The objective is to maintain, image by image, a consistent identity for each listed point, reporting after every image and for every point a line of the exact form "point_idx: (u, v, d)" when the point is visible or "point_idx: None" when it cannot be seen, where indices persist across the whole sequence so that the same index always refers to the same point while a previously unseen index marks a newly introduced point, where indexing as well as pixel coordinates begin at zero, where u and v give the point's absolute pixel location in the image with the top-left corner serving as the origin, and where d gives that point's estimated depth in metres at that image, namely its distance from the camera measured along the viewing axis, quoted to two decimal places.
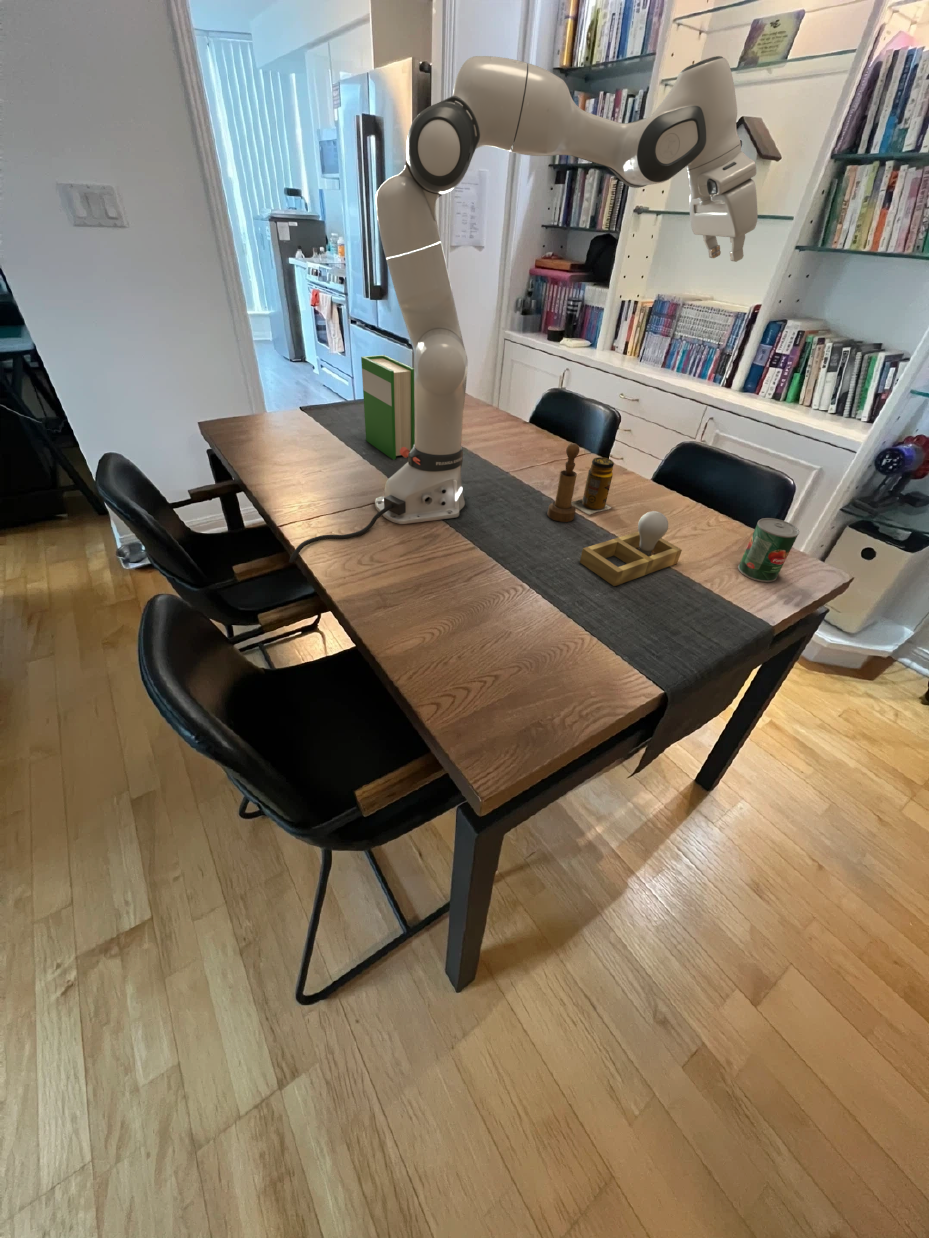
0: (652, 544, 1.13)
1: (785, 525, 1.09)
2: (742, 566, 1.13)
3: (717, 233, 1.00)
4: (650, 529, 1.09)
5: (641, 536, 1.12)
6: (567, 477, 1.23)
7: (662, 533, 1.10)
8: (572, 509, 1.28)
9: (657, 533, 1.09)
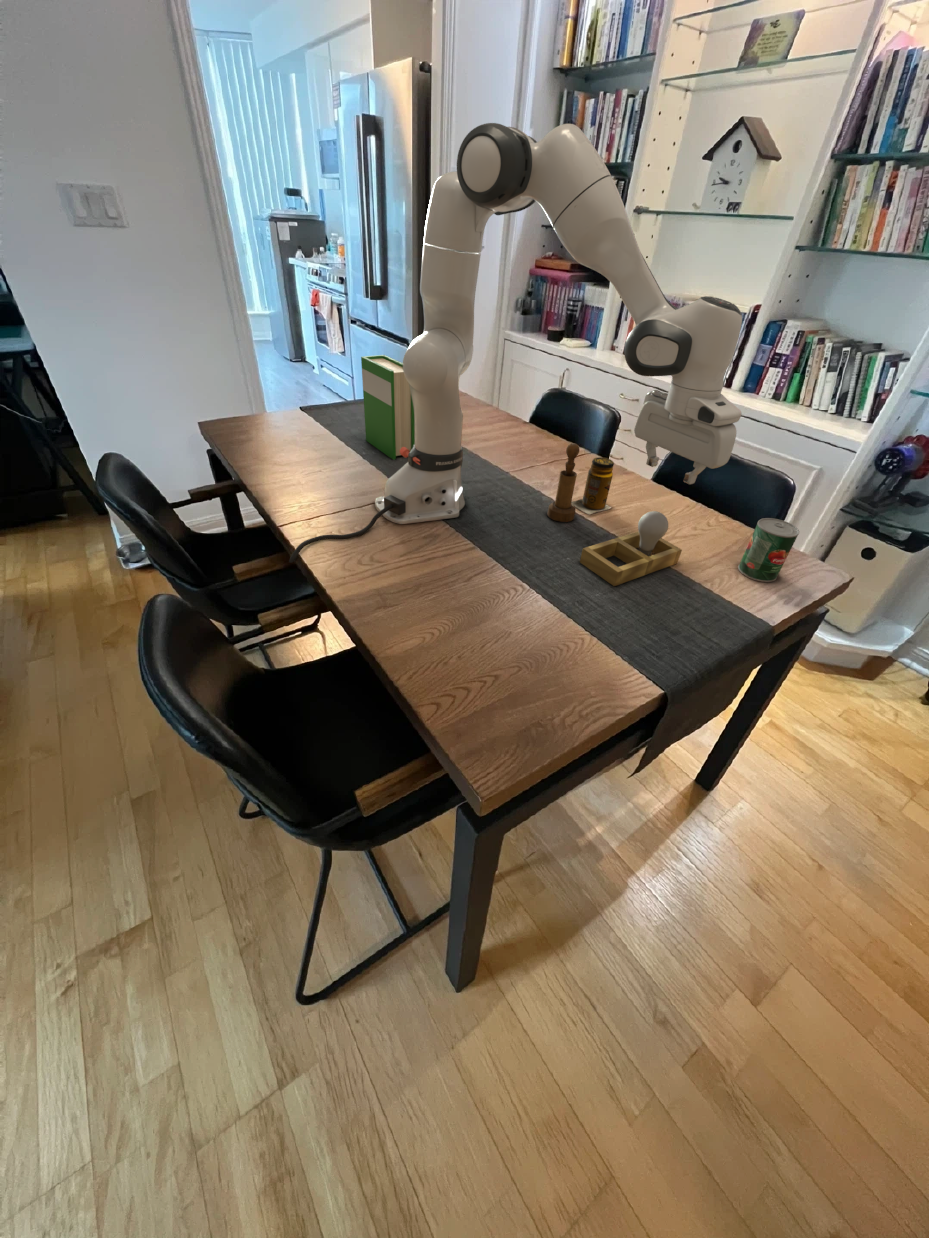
0: (652, 544, 1.13)
1: (785, 525, 1.09)
2: (742, 566, 1.13)
3: (680, 452, 0.99)
4: (650, 529, 1.09)
5: (641, 536, 1.12)
6: (567, 477, 1.23)
7: (662, 533, 1.10)
8: (572, 509, 1.28)
9: (657, 533, 1.09)
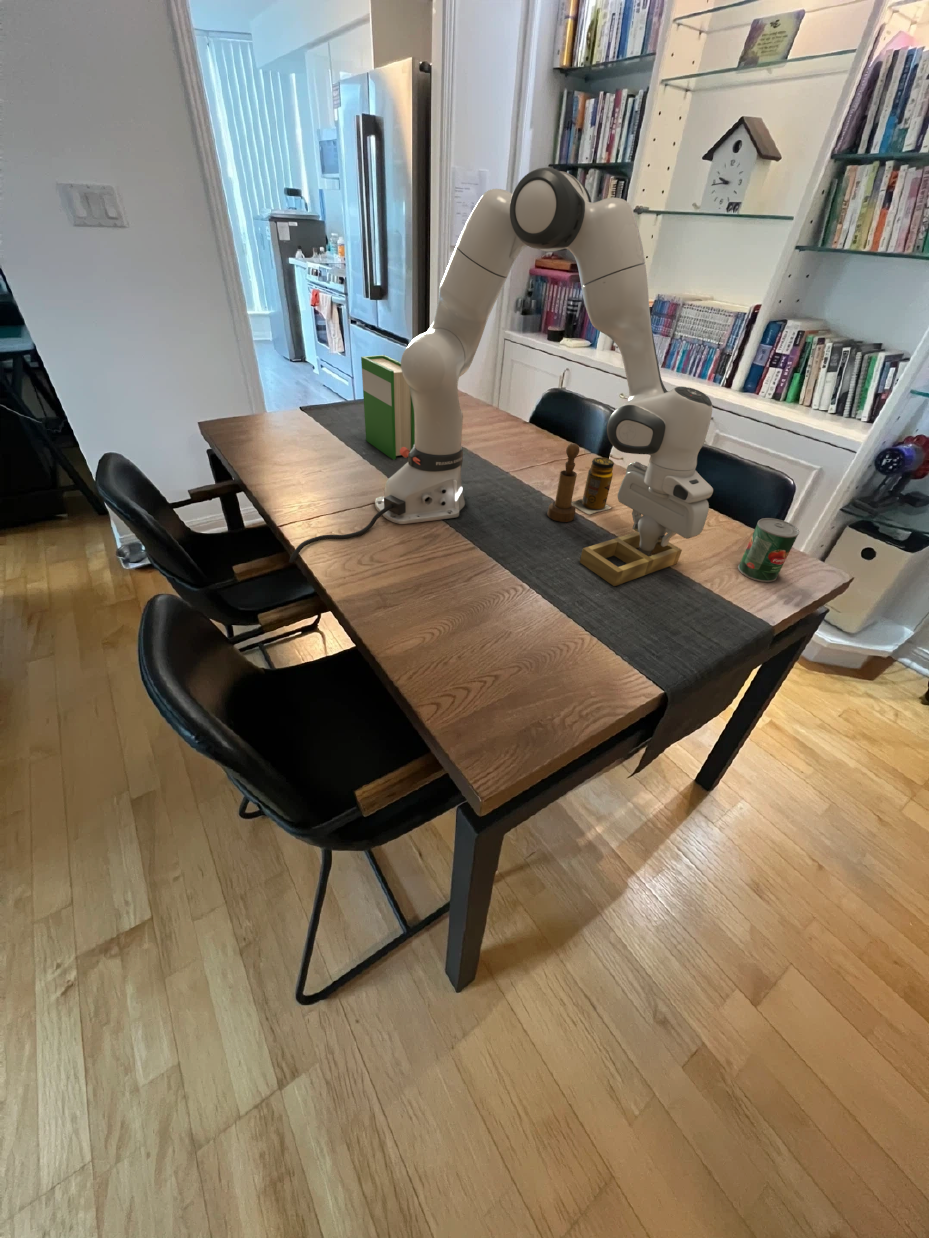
0: (652, 544, 1.13)
1: (785, 525, 1.09)
2: (742, 566, 1.13)
3: (659, 521, 1.08)
4: (650, 529, 1.09)
5: (641, 536, 1.12)
6: (567, 477, 1.23)
7: (662, 533, 1.10)
8: (572, 509, 1.28)
9: (657, 533, 1.09)
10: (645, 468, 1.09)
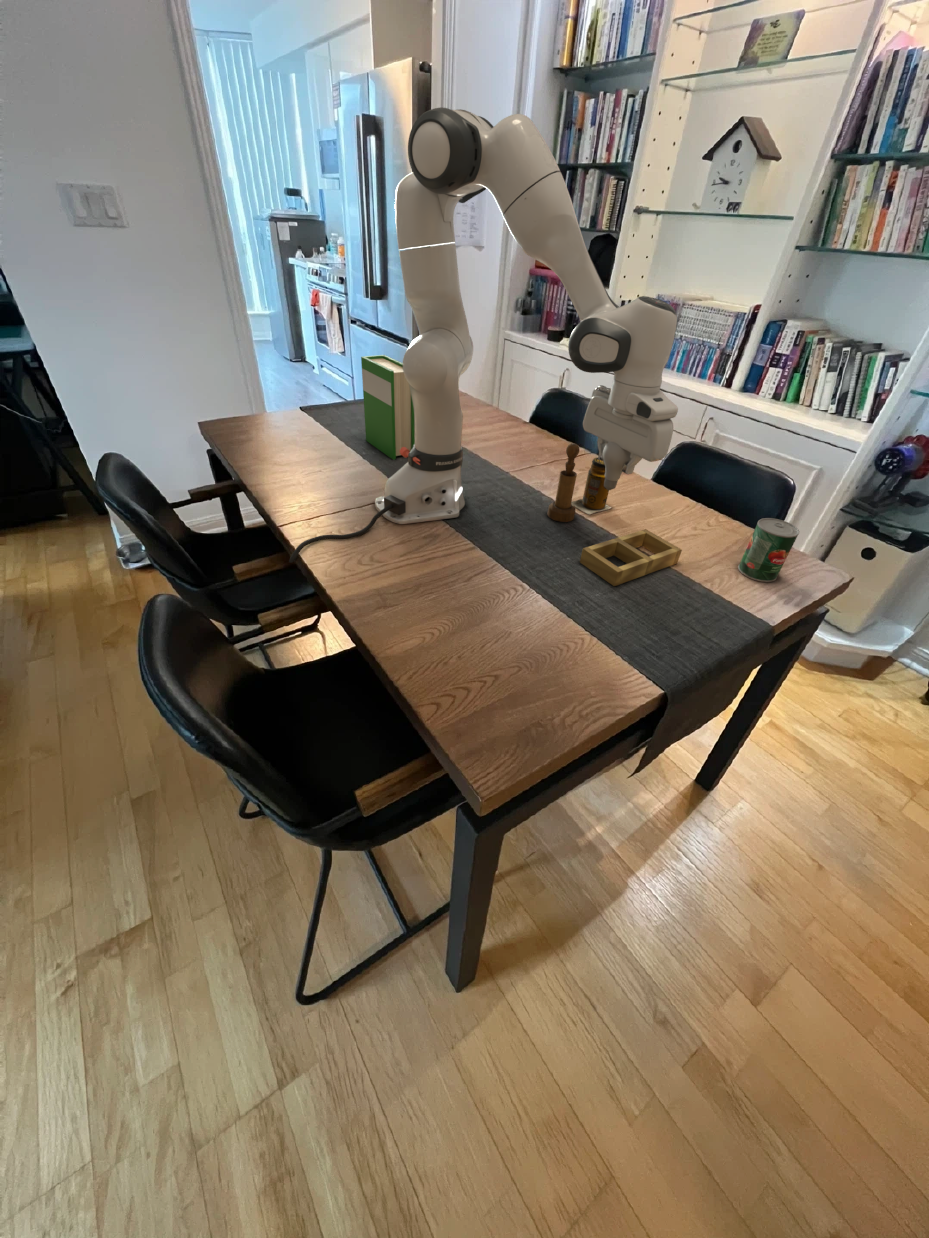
0: (617, 473, 1.08)
1: (785, 525, 1.09)
2: (742, 566, 1.13)
3: (623, 445, 1.04)
4: (614, 455, 1.05)
5: (606, 464, 1.08)
6: (567, 477, 1.23)
7: (627, 460, 1.06)
8: (572, 509, 1.28)
9: (621, 460, 1.05)
10: (610, 391, 1.04)
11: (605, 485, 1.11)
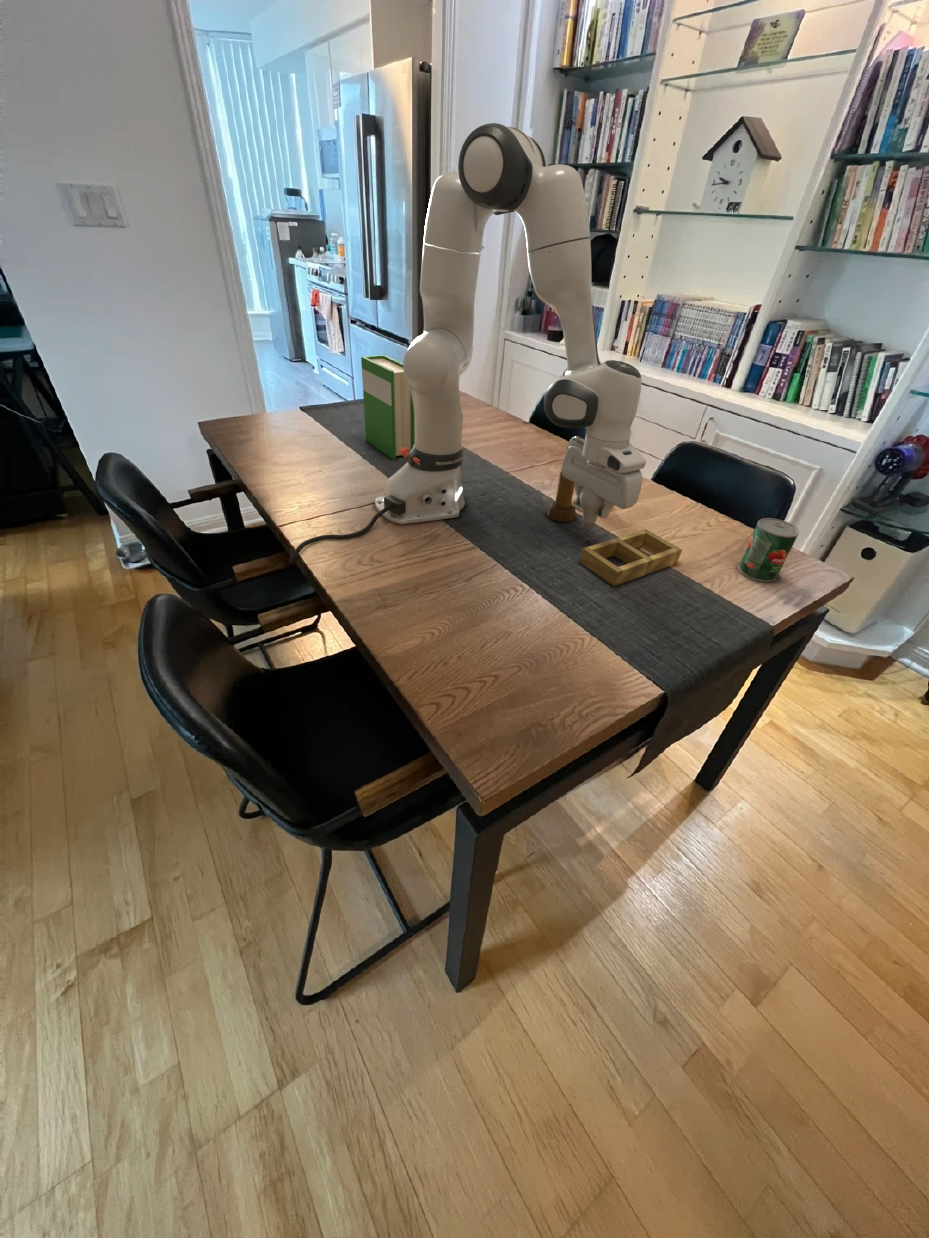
0: (593, 517, 1.16)
1: (785, 525, 1.09)
2: (742, 566, 1.13)
3: (597, 492, 1.11)
4: (589, 501, 1.13)
5: (583, 508, 1.16)
6: None
7: (602, 505, 1.13)
8: (572, 509, 1.28)
9: (596, 505, 1.13)
10: (584, 442, 1.12)
11: (583, 527, 1.19)
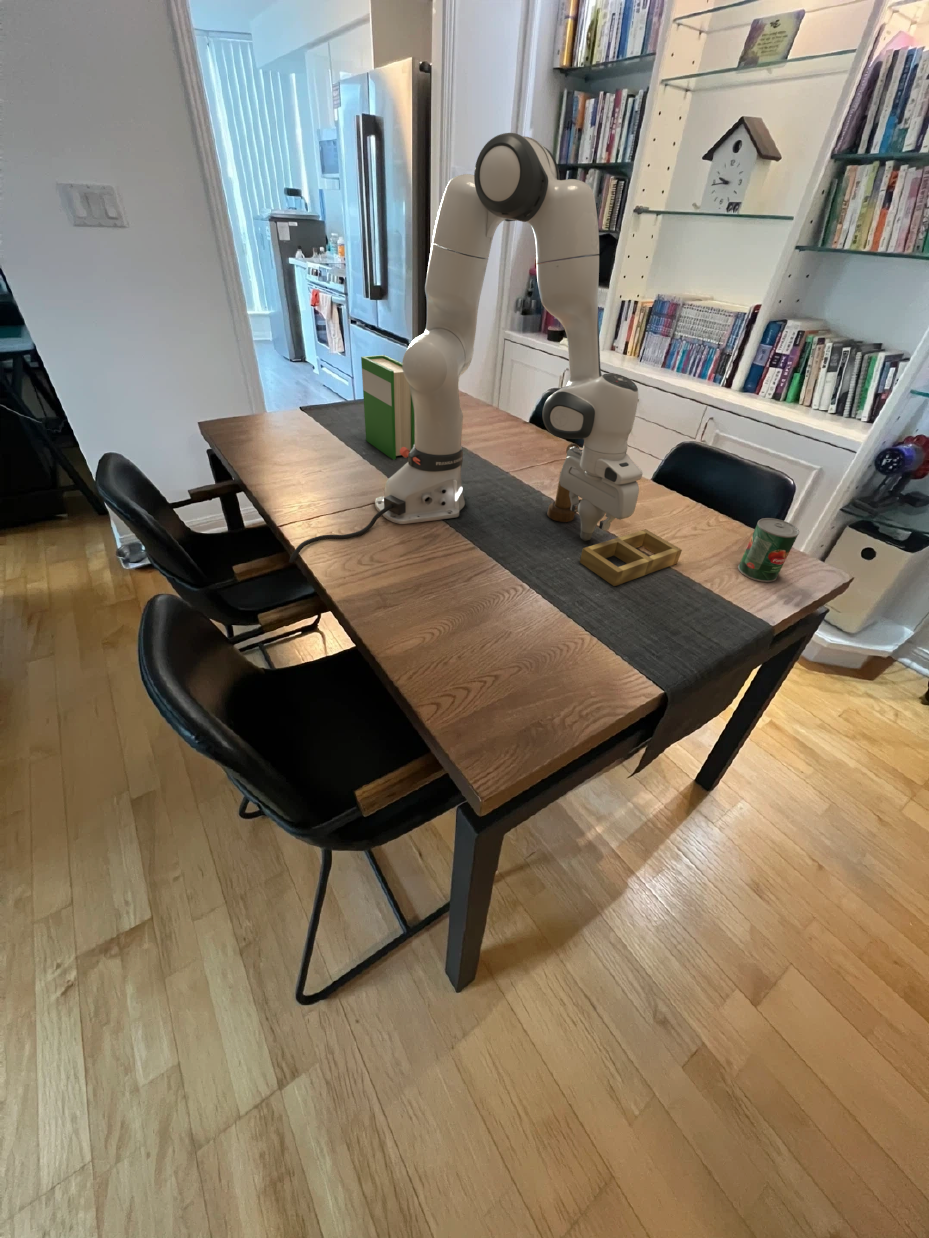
0: (591, 526, 1.18)
1: (785, 525, 1.09)
2: (742, 566, 1.13)
3: (595, 503, 1.13)
4: (588, 511, 1.14)
5: (581, 518, 1.17)
6: None
7: (600, 515, 1.15)
8: None
9: (594, 515, 1.14)
10: (582, 453, 1.13)
11: (581, 536, 1.21)
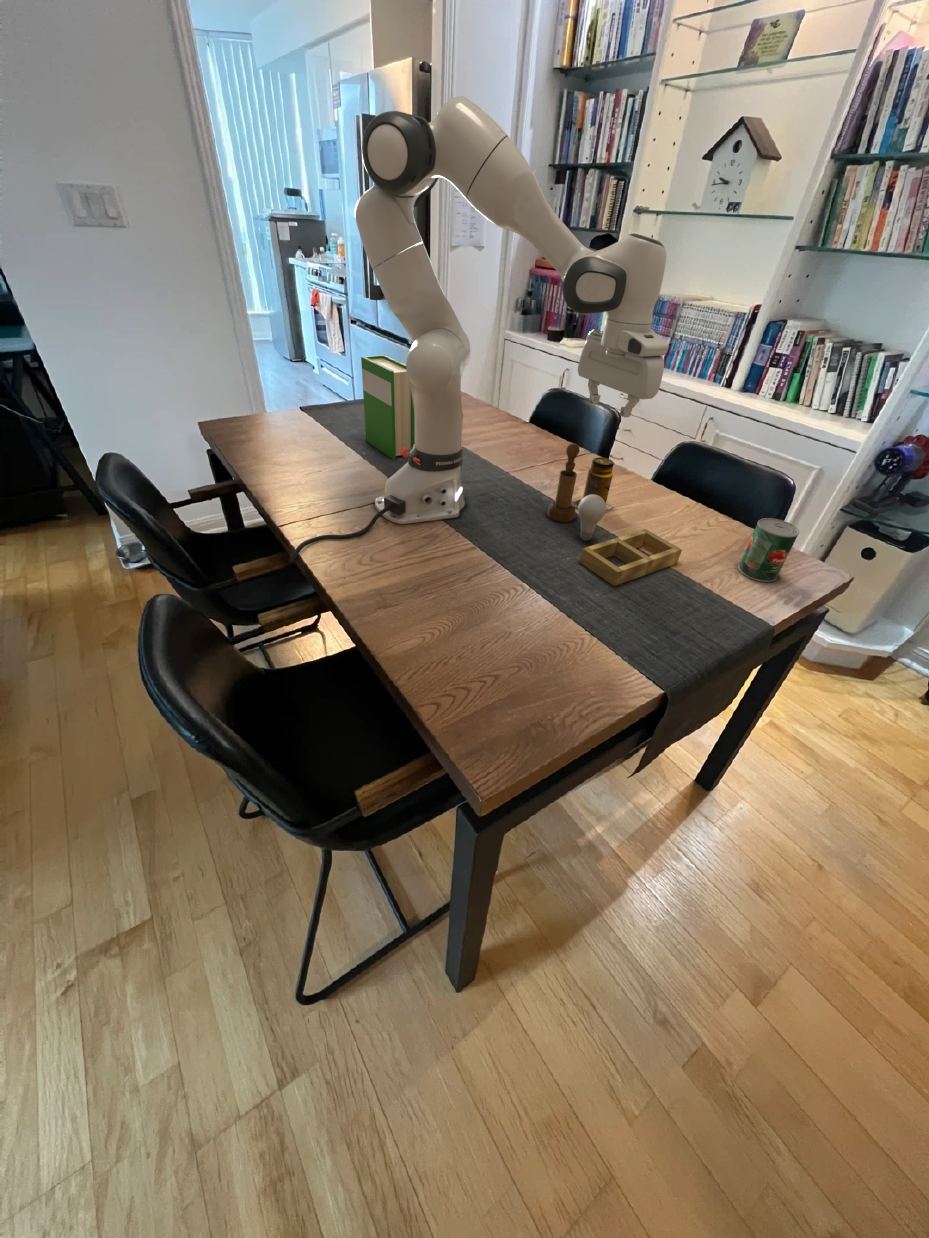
0: (591, 526, 1.18)
1: (785, 525, 1.09)
2: (742, 566, 1.13)
3: (616, 386, 1.06)
4: (588, 511, 1.14)
5: (581, 518, 1.17)
6: (567, 477, 1.23)
7: (600, 515, 1.15)
8: (572, 509, 1.28)
9: (594, 515, 1.14)
10: None
11: (581, 536, 1.21)
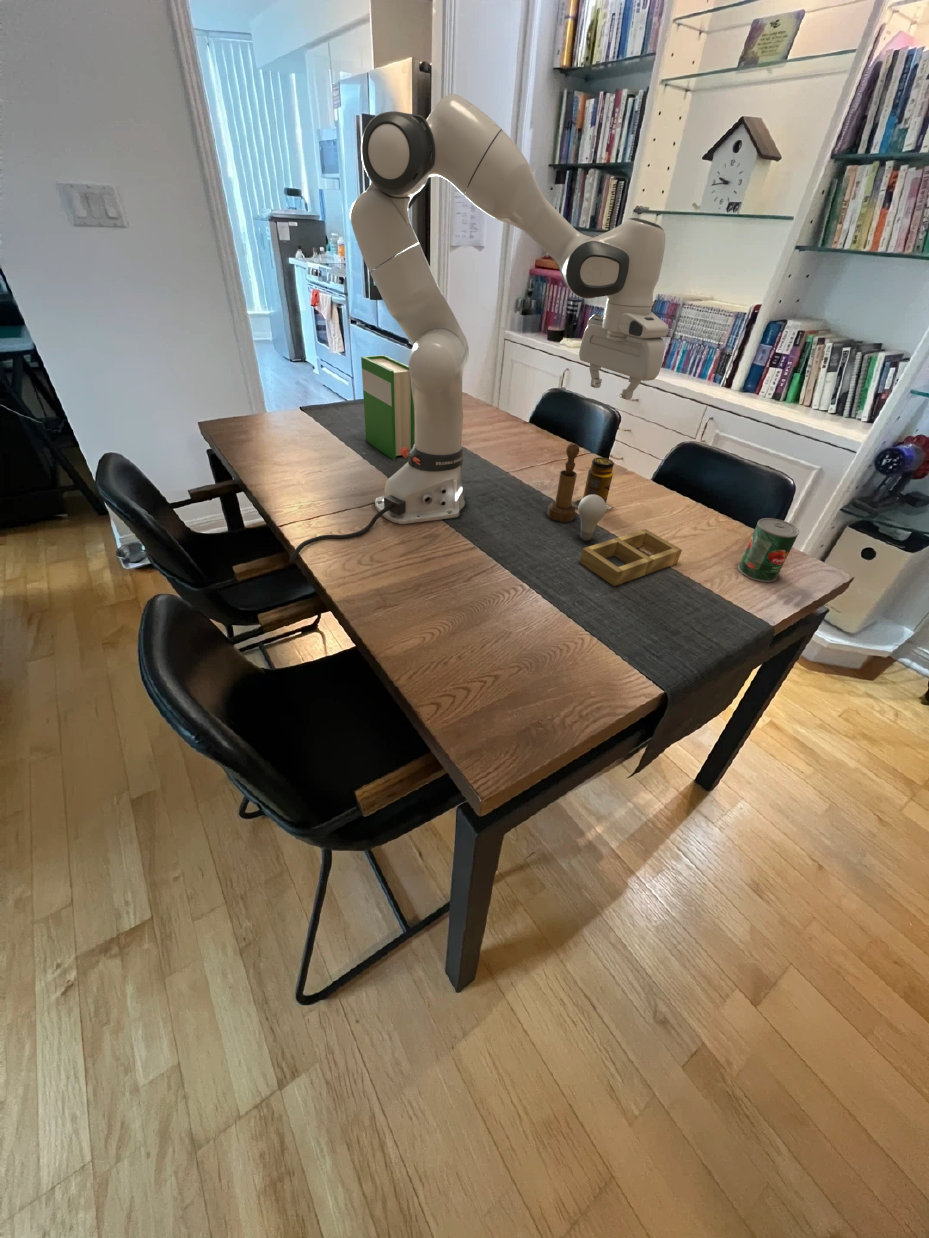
0: (591, 526, 1.18)
1: (785, 525, 1.09)
2: (742, 566, 1.13)
3: (617, 368, 1.09)
4: (588, 511, 1.14)
5: (581, 518, 1.17)
6: (567, 477, 1.23)
7: (600, 515, 1.15)
8: (572, 509, 1.28)
9: (594, 515, 1.14)
10: (604, 317, 1.09)
11: (581, 536, 1.21)
